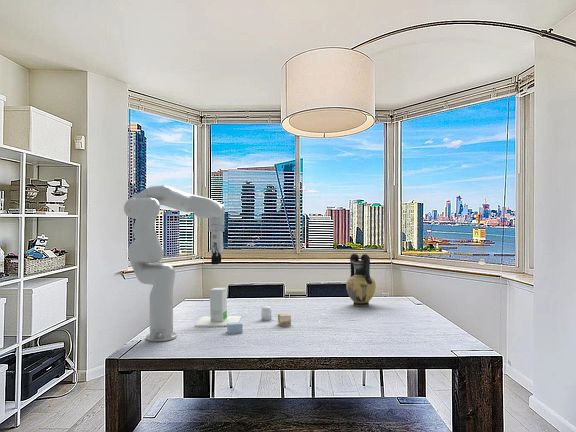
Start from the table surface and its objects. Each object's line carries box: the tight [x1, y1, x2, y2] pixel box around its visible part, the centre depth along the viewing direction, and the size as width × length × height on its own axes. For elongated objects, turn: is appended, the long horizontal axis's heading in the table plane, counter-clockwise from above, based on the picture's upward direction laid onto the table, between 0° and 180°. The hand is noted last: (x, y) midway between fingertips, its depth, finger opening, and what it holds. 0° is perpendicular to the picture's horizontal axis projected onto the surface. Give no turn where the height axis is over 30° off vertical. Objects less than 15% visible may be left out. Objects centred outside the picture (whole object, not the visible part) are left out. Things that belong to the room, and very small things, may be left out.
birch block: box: [277, 312, 292, 327], centre depth 210 cm, size 5×5×5 cm
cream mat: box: [194, 315, 242, 328], centre depth 217 cm, size 20×20×1 cm
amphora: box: [345, 253, 376, 307], centre depth 259 cm, size 18×17×30 cm
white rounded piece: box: [260, 305, 272, 321], centre depth 223 cm, size 5×5×6 cm
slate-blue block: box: [226, 321, 243, 335], centre depth 196 cm, size 4×6×4 cm, turn 108°
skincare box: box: [209, 287, 228, 322], centre depth 217 cm, size 8×7×16 cm
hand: (216, 263), depth 217 cm, fingers open, 9 cm apart
